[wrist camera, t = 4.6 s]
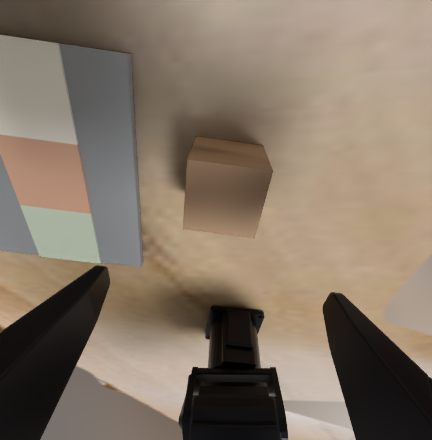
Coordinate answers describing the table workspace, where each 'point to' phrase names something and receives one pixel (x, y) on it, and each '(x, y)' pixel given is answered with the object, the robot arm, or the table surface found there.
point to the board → (68, 153)
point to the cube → (225, 187)
